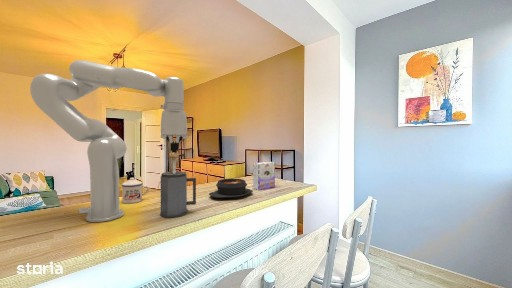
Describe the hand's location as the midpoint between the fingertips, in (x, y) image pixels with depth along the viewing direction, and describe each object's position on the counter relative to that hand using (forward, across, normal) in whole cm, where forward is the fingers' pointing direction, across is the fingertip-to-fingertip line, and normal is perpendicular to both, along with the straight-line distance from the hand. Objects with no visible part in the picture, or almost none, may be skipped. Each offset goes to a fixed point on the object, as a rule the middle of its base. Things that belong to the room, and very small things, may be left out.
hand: (174, 152), depth 95 cm
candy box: (+26, +51, +37) cm, 68 cm away
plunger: (+20, 0, 0) cm, 20 cm away
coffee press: (+26, +1, 0) cm, 26 cm away
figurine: (+26, -5, +19) cm, 32 cm away
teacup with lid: (+26, -20, +24) cm, 41 cm away
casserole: (+26, +28, +23) cm, 44 cm away
